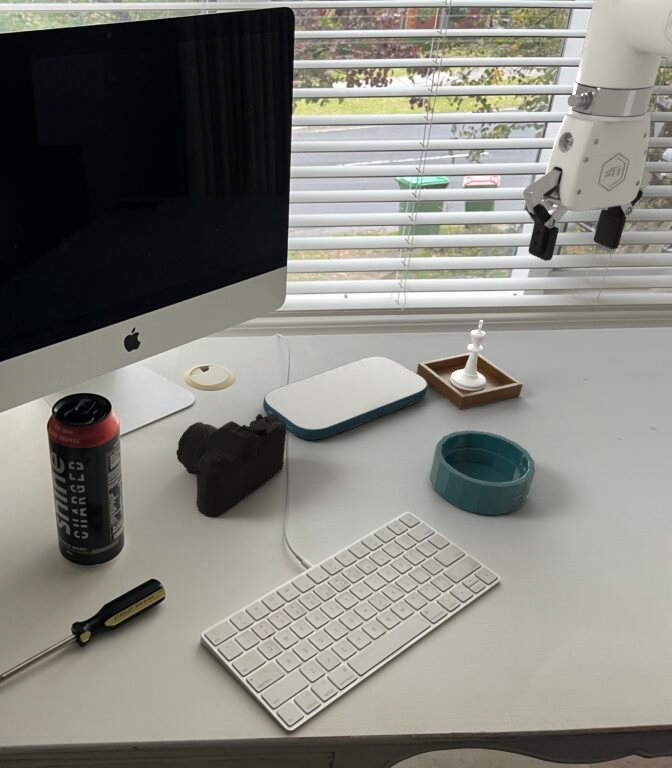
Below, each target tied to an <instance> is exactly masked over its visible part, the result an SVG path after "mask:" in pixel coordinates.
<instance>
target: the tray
mask: <svg viewBox="0 0 672 768" xmlns="http://www.w3.org/2000/svg"><path fill="white" fill-rule="evenodd" d="M470 353H471V351H470V352H466V353H460V354H456V355H452V356H445V357H441V358H436V359H431V360H427V361H422V362H418V364H417V369H416V374H418V375H420V376H421V377H423V378H424V379H425V380H426V382H427V385H428V386H430V387H431V388H433V390H435V391H436V392H438V393H439V394H440V395H441V396H442V397H444V398H445V399H446V400H447V401H448V402H450V403H451V404H453V405H454V406H455V407H456V408H457V409H458V410H464V409H468V408H473V407H477V406H481V405H485V404H490V403H495V402H498V401H504V400H507V399H512V398H516V397H520V396H521V392H522V388H523V386H524V384H523V383H522V382H521V381H519V380H518V379H517V378H515V377H513V376H512V375H511V374H510V373H507V372H506V371H505V370H503V369H502V368H500V367H499V366H498V365H496V364H494V363H493V362H492V361H490V360H489V359H488V358H486V357H484V355H481V353H480V352H479V353H478V358H477V372H478V373H480V374H481V375H483V376H484V377H485V379H486V386H485V388H483V389H481V390H478V391H468V390H463V389H460V388H458V387H456V386H454V385H453V384H452V383H451V381H450V378H451V375H452V373H453V372H455V371H457V370H463V369H465V367H466V364H467V361H468V359H469V356H470Z"/></svg>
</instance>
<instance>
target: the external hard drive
mask: <svg viewBox="0 0 672 768" xmlns="http://www.w3.org/2000/svg"><path fill="white" fill-rule="evenodd" d="M428 389H429V384H428V383H427V382H426V380H425V379H424V378H423V377H421V376H420V375H418V374H417V372H415V371H413V370H411V369H409V368H407V367H406V366H404V365H402V364H401V363H399V362H397V361H395V360H393V359H391V358H388V357H385V356H368V357H364V358H360V359H357V360H354V361H351V362H349V363H345V364H342V365H340V366H337V367H334V368H331V369H328V370H326V371H322V372H320V373H317V374H313V375H311V376H307V377H305V378H302V379H299V380H296V381H294V382H291V383H288V384H285V385H282V386H278V387H277V388H274V389H272V390H270V391H269V392H267V393H266V394H265V396H263V397H264V398H263V401H262V407H263V411H264V412H265V413H266V414H267V415H269V414H274V415H277V416H278V418H279V419H281V420H282V421H284V422H285V424H286V430H287V431H288V432H290V433H292V435H294V436H296V437H298V438H300V439H304V440H320V439H321V440H322V439H325V438H328V437H331V436H333V435H336V434H338V433H339V434H340V433H341V432H344V431H347V430H349V429H352V428H355V427H356V426H359V425H362V424H364V423H367V422H369V421H372V420H374V419H377V418H379V417H382V416H384V415H386V414H389V413H393V412H394V411H397V410H400V409H402V408H405V407H408V406H409V405H413V404H415V403H417V402H419V401H421V400H422V399H424V397H426V395H427V392H428Z"/></svg>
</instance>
